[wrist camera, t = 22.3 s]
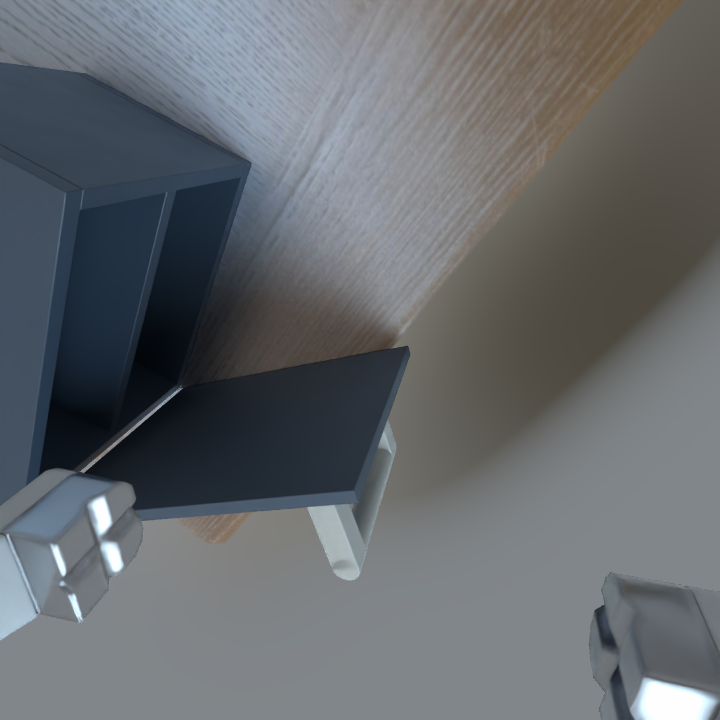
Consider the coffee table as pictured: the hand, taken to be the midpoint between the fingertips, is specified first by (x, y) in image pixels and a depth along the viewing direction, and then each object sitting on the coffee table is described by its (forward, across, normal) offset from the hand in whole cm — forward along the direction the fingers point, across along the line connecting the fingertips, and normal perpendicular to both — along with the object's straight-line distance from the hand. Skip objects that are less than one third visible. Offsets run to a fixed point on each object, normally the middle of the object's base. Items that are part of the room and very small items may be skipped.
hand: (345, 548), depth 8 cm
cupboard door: (+30, +12, +16) cm, 36 cm away
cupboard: (+30, +26, +3) cm, 40 cm away
